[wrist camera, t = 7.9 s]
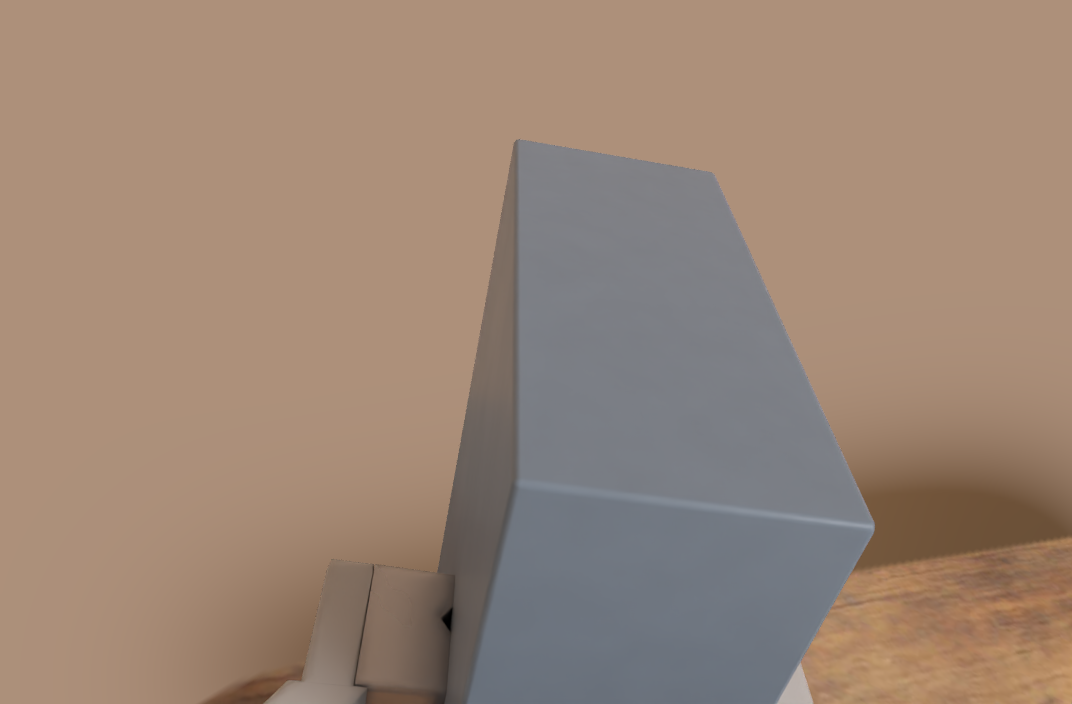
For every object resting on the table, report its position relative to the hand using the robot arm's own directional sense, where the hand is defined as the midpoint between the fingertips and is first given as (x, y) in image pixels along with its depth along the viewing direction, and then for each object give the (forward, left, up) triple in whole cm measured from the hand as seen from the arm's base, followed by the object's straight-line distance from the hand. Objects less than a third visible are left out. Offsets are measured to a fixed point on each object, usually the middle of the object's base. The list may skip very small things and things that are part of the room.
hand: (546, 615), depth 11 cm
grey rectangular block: (0, 0, -7) cm, 7 cm away
